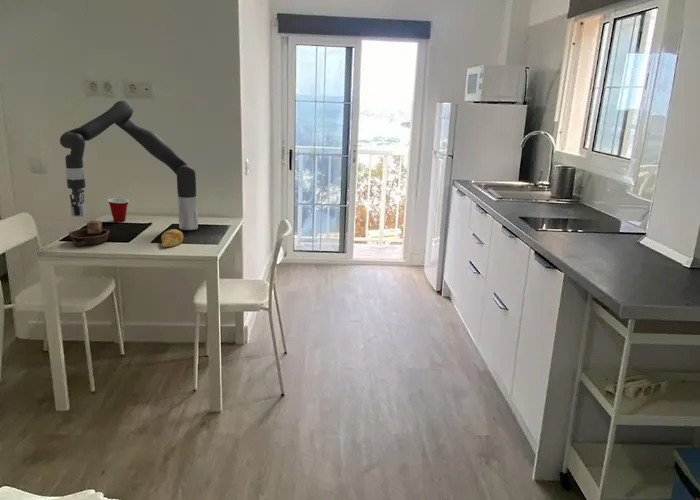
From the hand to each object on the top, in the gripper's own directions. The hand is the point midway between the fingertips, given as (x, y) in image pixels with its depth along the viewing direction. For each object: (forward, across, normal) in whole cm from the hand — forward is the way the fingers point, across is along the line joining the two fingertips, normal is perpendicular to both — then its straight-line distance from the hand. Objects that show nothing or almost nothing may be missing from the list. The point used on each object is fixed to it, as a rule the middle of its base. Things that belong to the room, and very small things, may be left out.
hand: (79, 213), depth 258 cm
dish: (+14, +1, +4) cm, 14 cm away
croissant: (+14, +4, +42) cm, 44 cm away
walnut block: (+9, 0, +6) cm, 11 cm away
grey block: (+1, 0, 0) cm, 1 cm away
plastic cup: (+14, -44, +8) cm, 47 cm away
